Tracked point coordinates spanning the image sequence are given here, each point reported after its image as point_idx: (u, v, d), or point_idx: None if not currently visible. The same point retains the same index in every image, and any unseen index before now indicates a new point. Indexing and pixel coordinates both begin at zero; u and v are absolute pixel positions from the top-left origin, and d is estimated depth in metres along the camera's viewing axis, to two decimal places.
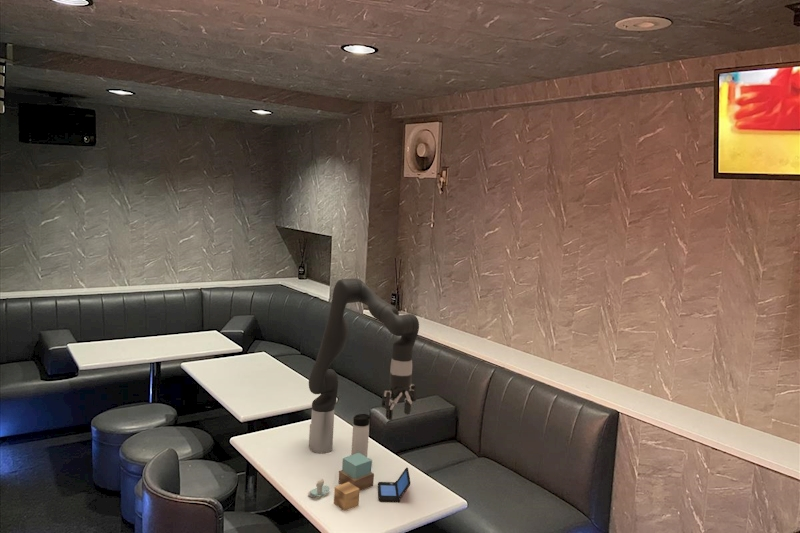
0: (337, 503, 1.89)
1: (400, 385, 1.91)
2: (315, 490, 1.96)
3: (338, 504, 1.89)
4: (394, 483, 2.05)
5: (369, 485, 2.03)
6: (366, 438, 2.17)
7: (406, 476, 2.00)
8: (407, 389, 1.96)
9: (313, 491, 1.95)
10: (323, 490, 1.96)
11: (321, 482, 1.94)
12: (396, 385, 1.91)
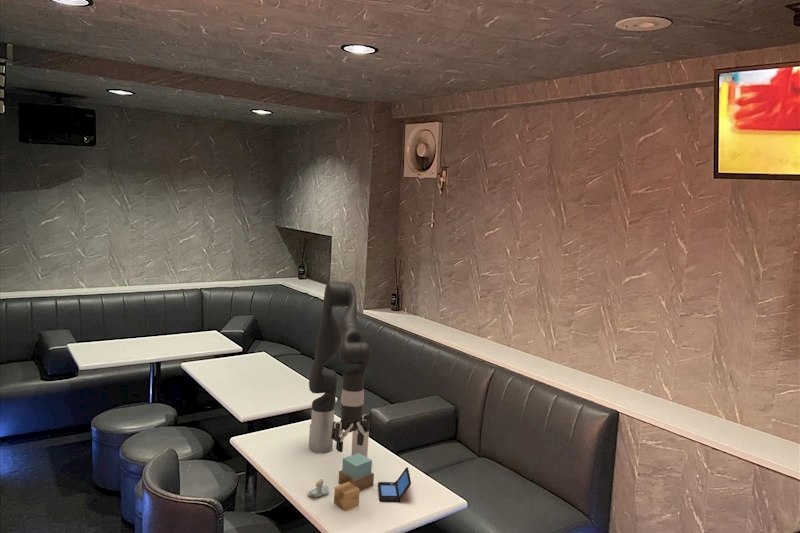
0: (337, 503, 1.89)
1: (351, 416, 1.83)
2: (315, 490, 1.96)
3: (338, 504, 1.89)
4: (394, 483, 2.05)
5: (369, 485, 2.03)
6: (366, 438, 2.17)
7: (406, 476, 2.00)
8: (359, 419, 1.88)
9: (313, 491, 1.95)
10: (323, 490, 1.97)
11: (321, 482, 1.94)
12: (346, 416, 1.83)
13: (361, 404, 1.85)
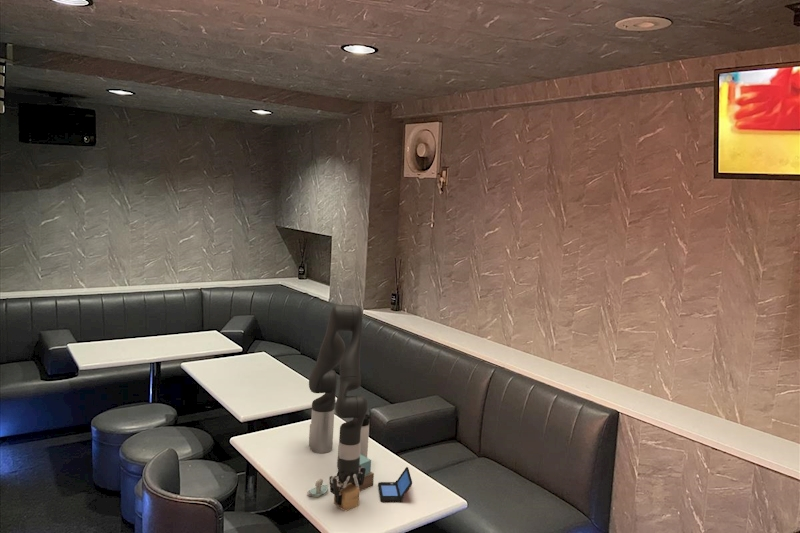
0: None
1: (347, 469, 1.85)
2: (314, 489, 1.97)
3: None
4: (394, 483, 2.05)
5: (369, 485, 2.03)
6: (366, 438, 2.17)
7: (407, 476, 2.00)
8: (356, 471, 1.90)
9: (312, 490, 1.96)
10: (322, 489, 1.97)
11: (320, 481, 1.94)
12: (343, 469, 1.85)
13: (357, 457, 1.87)
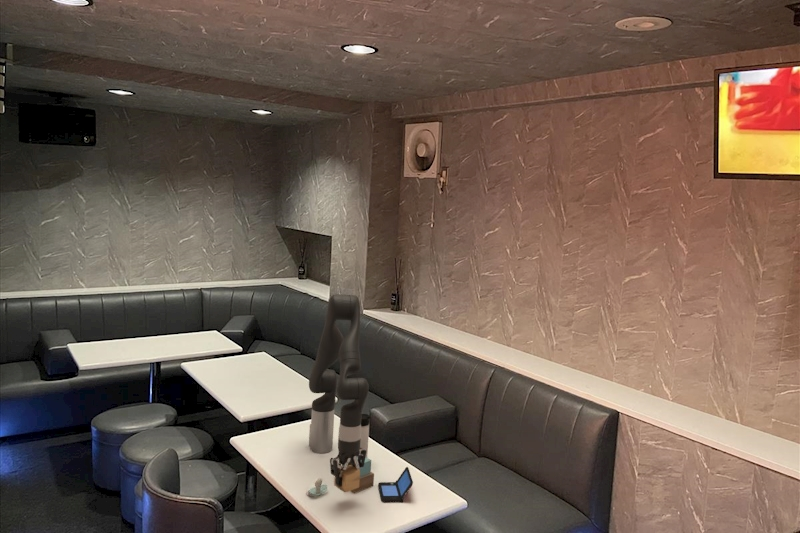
0: None
1: (348, 451, 1.84)
2: (313, 489, 1.97)
3: None
4: (394, 483, 2.05)
5: (369, 485, 2.03)
6: (366, 438, 2.17)
7: (407, 476, 2.00)
8: (356, 453, 1.90)
9: (311, 490, 1.96)
10: (321, 489, 1.97)
11: (319, 481, 1.94)
12: (343, 451, 1.85)
13: (358, 439, 1.86)
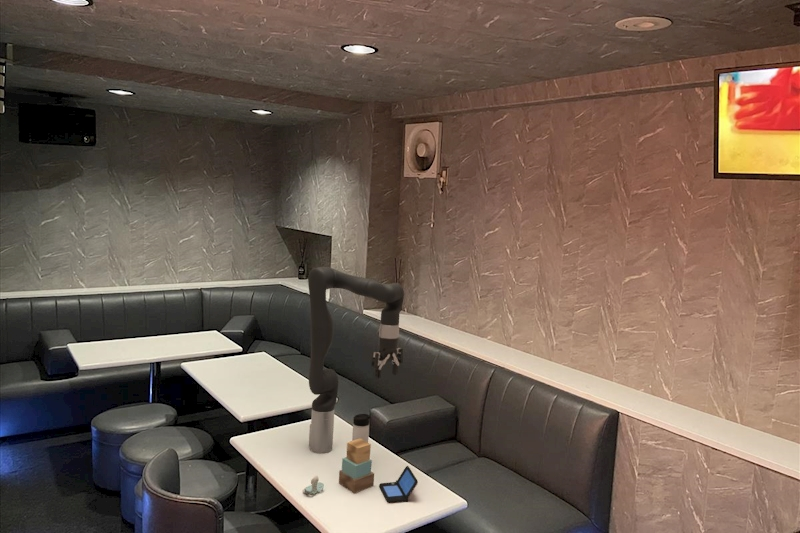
0: (349, 457, 2.02)
1: (388, 347, 2.11)
2: (310, 487, 1.98)
3: (350, 458, 2.01)
4: (395, 483, 2.05)
5: (369, 484, 2.03)
6: (366, 438, 2.17)
7: (410, 475, 2.01)
8: (394, 352, 2.16)
9: (308, 488, 1.97)
10: (318, 487, 1.98)
11: (316, 479, 1.95)
12: (384, 347, 2.11)
13: (397, 337, 2.12)
